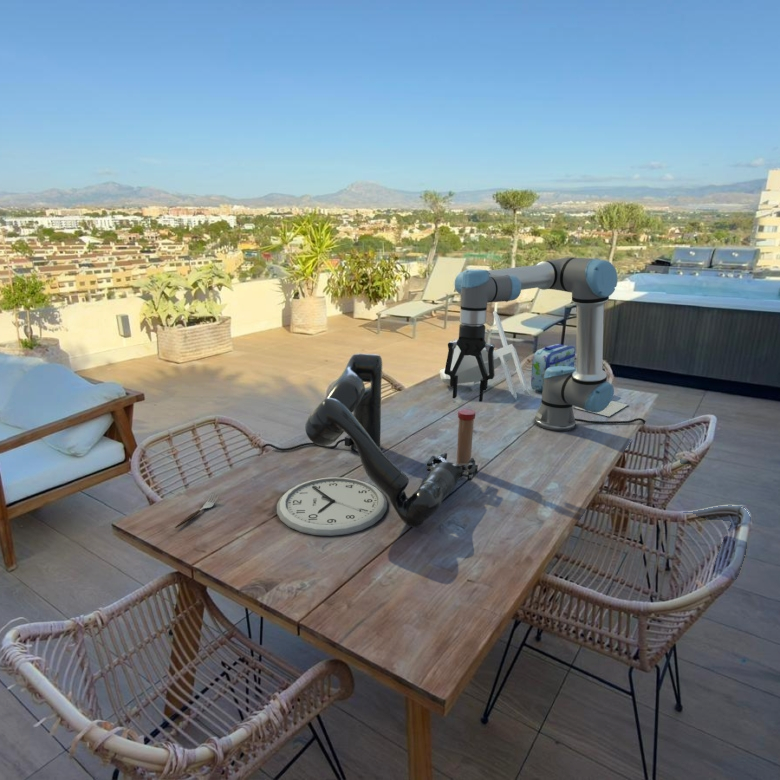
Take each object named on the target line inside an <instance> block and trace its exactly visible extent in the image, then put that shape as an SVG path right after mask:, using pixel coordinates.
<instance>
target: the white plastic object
mask: <svg viewBox="0 0 780 780" xmlns="http://www.w3.org/2000/svg"><path fill="white" fill-rule="evenodd" d="M492 315H493V319H494V321H495V324H496V325H495V326H496V328H497V332H498V335H499V338H500V342H501V345H502V347H500V348H498V349H496V350H495V349H494V351H493V359H494V370H496V369H497V368H499V367H500V366H502V370H503V373H504V376H505V380H506V383H507V386H508V390H509V393H510V394H511V395H512V397H513V398H514V399H515V400H517V392H516V391H517V390H516V388H515V385H514V381H513V378H512V375H511V371H510V369H509V365H508V361H510V360H513V363H514V366H515V369H516V372H517V376H518V380H519V382H520V385H521V389H522V391H523V393H524V395H525V396H526V397H528V396H531V395H530V390H529V388H528V387H529V386H528V384H527V381H526V378H525V375H524V371H523V369H522V368H523V367H522V366H521V362H520V359H519V355H518V352H517V349H516V347H515V346H514V345H513V343H511V344H508V341H507V337H506V334H505V331H504V328H503V325H502V321H501V318H500V315H499V314H498V312H497V311H496V310H495V311H492ZM457 340H458V338H454V340H453V342H455V341H457ZM486 344H489V343H488V342H486ZM460 353H461V350H460V349H459V347H458V345H456V348H455V349H454V353H453V359H452V364H451V369H450V370H451V371H452V370H453V368H454V366H455V363H456V361H457V359H458V357H459V355H460ZM481 354H482V358H483V361H484V364H485V368H486V371H487V374H489V366H488V352H487V351H486V348H485V347H484V348H483V350H482V351H481ZM438 372H439V376H440V381H442V383H443V384H444V385H445V386H450V376H449V375H447V374H445V373H444V372H445V367H444V368H442V369H440V370H439V371H438ZM455 376H458V384H467V383H468V384H469V383H473V384H477V383H480V380H481V379H482V378H483V377H482V374H481V371H480V368H479V365H478V362H477V359H476V357H475V356H471V355H465V356H464V358H463V360H462V362H461V364H460V366H459V368H458V370H457V372H456V374H455ZM458 384H457V385H458Z"/></svg>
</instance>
